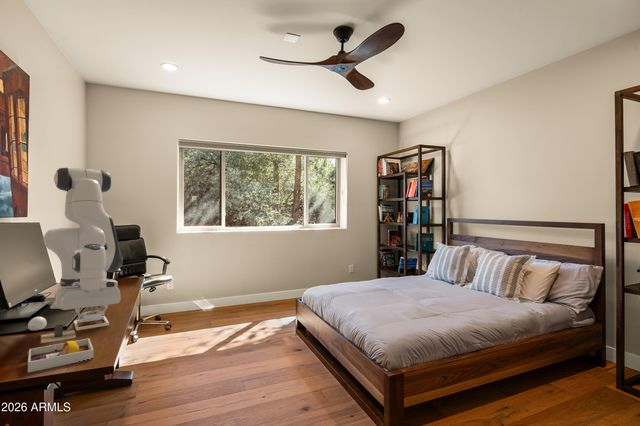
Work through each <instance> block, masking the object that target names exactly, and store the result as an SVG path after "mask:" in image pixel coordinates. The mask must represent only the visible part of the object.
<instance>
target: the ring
mask: <svg viewBox="0 0 640 426" xmlns="http://www.w3.org/2000/svg"><path fill="white" fill-rule="evenodd" d="M81 314H83V319H81V320H83V322H82V323H86V322H87V323H88V322H92V321H93V322H94V321H99V320H102V319H101V317H102V316H101V312H100V309H99V310H97V311H93V310H92V311H89V310H88V311H83V312H82V313H81Z"/></svg>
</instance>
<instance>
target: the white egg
mask: <svg viewBox="0 0 640 426" xmlns="http://www.w3.org/2000/svg"><path fill="white" fill-rule="evenodd" d="M47 323H48V322H47V319H46V318H45V317H43V316H35V317H33V318H31V320H29V322H28V324H27V326H26V328H28V329H29V330H30V331H32V332H33V331H39V330H43V329H45V328H46V326H47V325H48V324H47Z"/></svg>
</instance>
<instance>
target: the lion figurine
mask: <svg viewBox="0 0 640 426" xmlns="http://www.w3.org/2000/svg"><path fill="white" fill-rule="evenodd" d="M103 307H104V306H103V305H101V306H93V307H88V311H92V310H93V311H97V310H99V311H102V310H103Z"/></svg>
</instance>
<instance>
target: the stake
mask: <svg viewBox="0 0 640 426" xmlns="http://www.w3.org/2000/svg"><path fill="white" fill-rule="evenodd" d="M74 338H77V335H76V330H75V329H69V330H65V331H64V324H63V323H62V324H55V325H54V332H52V333H46V334H40V344H41V345H42V344H46V343H52V342H57V341H59V342H60V341H65V340H70V339H74Z"/></svg>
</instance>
